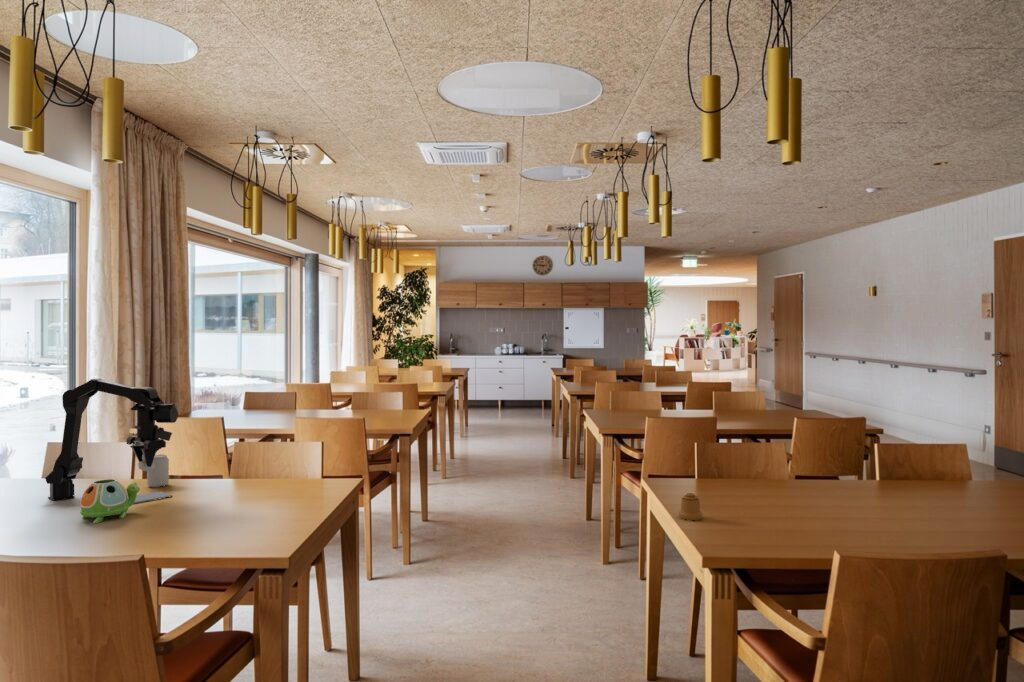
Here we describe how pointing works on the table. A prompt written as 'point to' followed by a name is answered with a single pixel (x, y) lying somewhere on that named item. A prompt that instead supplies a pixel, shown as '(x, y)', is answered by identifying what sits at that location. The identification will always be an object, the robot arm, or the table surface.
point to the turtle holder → (107, 499)
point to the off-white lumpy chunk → (145, 465)
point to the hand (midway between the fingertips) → (145, 465)
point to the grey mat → (150, 496)
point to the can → (159, 472)
